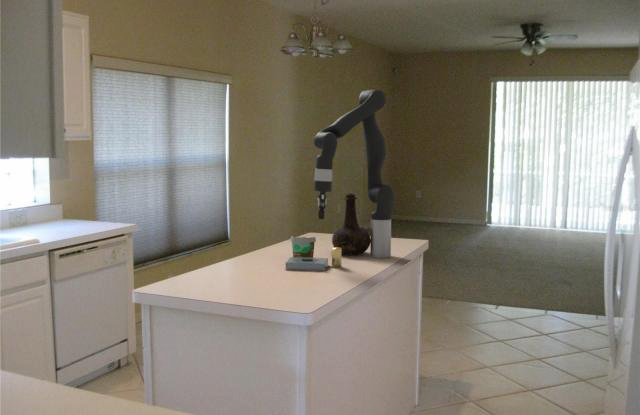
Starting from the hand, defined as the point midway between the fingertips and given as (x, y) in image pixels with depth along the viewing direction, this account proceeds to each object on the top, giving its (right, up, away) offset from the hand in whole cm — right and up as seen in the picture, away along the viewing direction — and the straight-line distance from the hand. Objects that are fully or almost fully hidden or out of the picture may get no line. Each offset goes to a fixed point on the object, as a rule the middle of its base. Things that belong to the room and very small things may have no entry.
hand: (321, 218), depth 270 cm
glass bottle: (+14, -17, +29) cm, 36 cm away
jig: (-6, -20, -4) cm, 22 cm away
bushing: (+7, -20, -2) cm, 22 cm away
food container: (-9, -19, +15) cm, 26 cm away
